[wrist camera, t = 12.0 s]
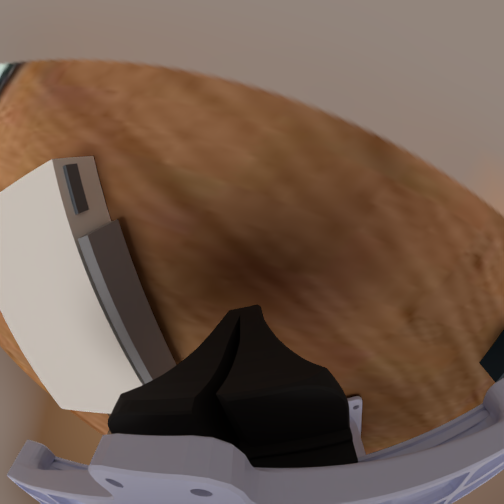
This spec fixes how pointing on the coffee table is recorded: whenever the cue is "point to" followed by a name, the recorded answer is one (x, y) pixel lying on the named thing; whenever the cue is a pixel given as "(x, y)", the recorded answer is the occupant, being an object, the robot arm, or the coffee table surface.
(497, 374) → the watch
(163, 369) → the tray
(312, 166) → the coffee table surface
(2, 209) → the player
